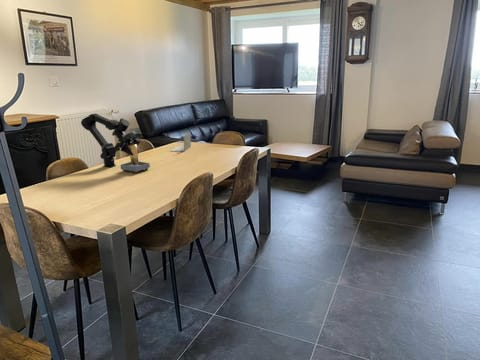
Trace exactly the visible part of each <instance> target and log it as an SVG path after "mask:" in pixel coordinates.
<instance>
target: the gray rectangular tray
mask: <svg viewBox="0 0 480 360" xmlns="http://www.w3.org/2000/svg"><path fill="white" fill-rule="evenodd" d="M119 165H120V170H122V171H123V172H127V171H129V172H133V173H134V174H138V173H139V171H142V170H145V171H146V170H149V168H150V167H151V166H150V162H144V161H139V164H137V165H131V161H128V162H125V163H122V164H119Z"/></svg>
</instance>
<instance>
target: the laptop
mask: <svg viewBox="0 0 480 360" xmlns="http://www.w3.org/2000/svg"><path fill="white" fill-rule="evenodd" d="M182 137H183V146H178V145H177V146H176V147H174V148H172V149H170V152H179V153H180V152H184V153H185V152H186V151H188V150H189V149H190V148H192V144H191V132H188V133H186V134H184V135H183V136H182Z"/></svg>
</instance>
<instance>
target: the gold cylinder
mask: <svg viewBox="0 0 480 360" xmlns="http://www.w3.org/2000/svg"><path fill="white" fill-rule="evenodd" d="M128 148H129V149H130V151H131V152H132V154H133V155H130V154H129V155H130V162H131V165H137V164H139V162H140V161H139V154H138V152H139V150H138V151H137V148H138V146H137V145H129V146H128Z"/></svg>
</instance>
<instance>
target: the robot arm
mask: <svg viewBox="0 0 480 360" xmlns="http://www.w3.org/2000/svg"><path fill="white" fill-rule="evenodd" d="M97 123H99V124H101V125H103V126H105V128H106V129H107V130H109V131H112V134H111V135H112V136H115V137H116V138H117V140H118V141H117V143H116V144H115V145H114V144H113V143H112V142H110V143H109V142H108V141H107V140H106V139H105V138H104V135H102V133H101V132H100V131H99V129H98V128H97ZM80 125H81V126H82V127H83V128H84V130H87V131H89V132H90V133H91V135H92V136H93V138H94V139H95V141H96V142H97V143H98V144H99V146H100V148H101V154H100V156H99V157H100V159H102V160H103V165H102V168H112V167H115V166H117V164H115V159H114V157H116V154H117V152H118V151H119V152H123V153H125V154H128V155H133V154H132V152H131V151H130V149H129V145H137V151H138V155H139V149H138V146H139V145H140V143H141V142H142V140H141V139H140V138H138V137H137V138H136V136H137V134H136V132H135V131H131V132H129V133H126V131H127V130H128V129H129V126H130V125H131V123H130V121H129V120H127V119H124V117H123V118H122V117H121V118H120V120H119V121H118V120H116V119H109V118H106V117H104V116H102V115H100V114H98V113H91V114H89V115H87V116H86V117H84V118H82V120H81V121H80Z"/></svg>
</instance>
